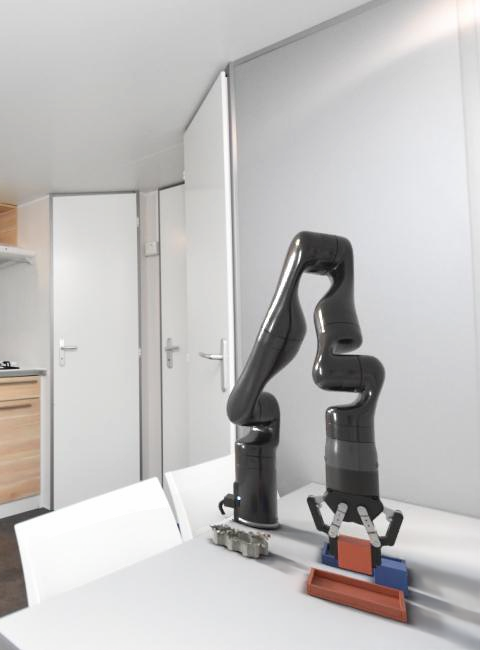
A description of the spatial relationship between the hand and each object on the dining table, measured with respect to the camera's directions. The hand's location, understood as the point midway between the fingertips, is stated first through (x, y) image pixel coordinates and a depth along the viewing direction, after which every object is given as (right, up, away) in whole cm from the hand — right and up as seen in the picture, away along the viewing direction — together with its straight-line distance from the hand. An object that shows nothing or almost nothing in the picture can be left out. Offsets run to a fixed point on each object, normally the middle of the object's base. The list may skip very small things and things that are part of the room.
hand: (354, 561), depth 85 cm
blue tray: (+12, -8, +13) cm, 19 cm away
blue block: (+9, -7, +3) cm, 12 cm away
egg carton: (-9, -8, +20) cm, 23 cm away
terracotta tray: (0, -6, 0) cm, 6 cm away
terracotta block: (0, -1, 0) cm, 1 cm away
